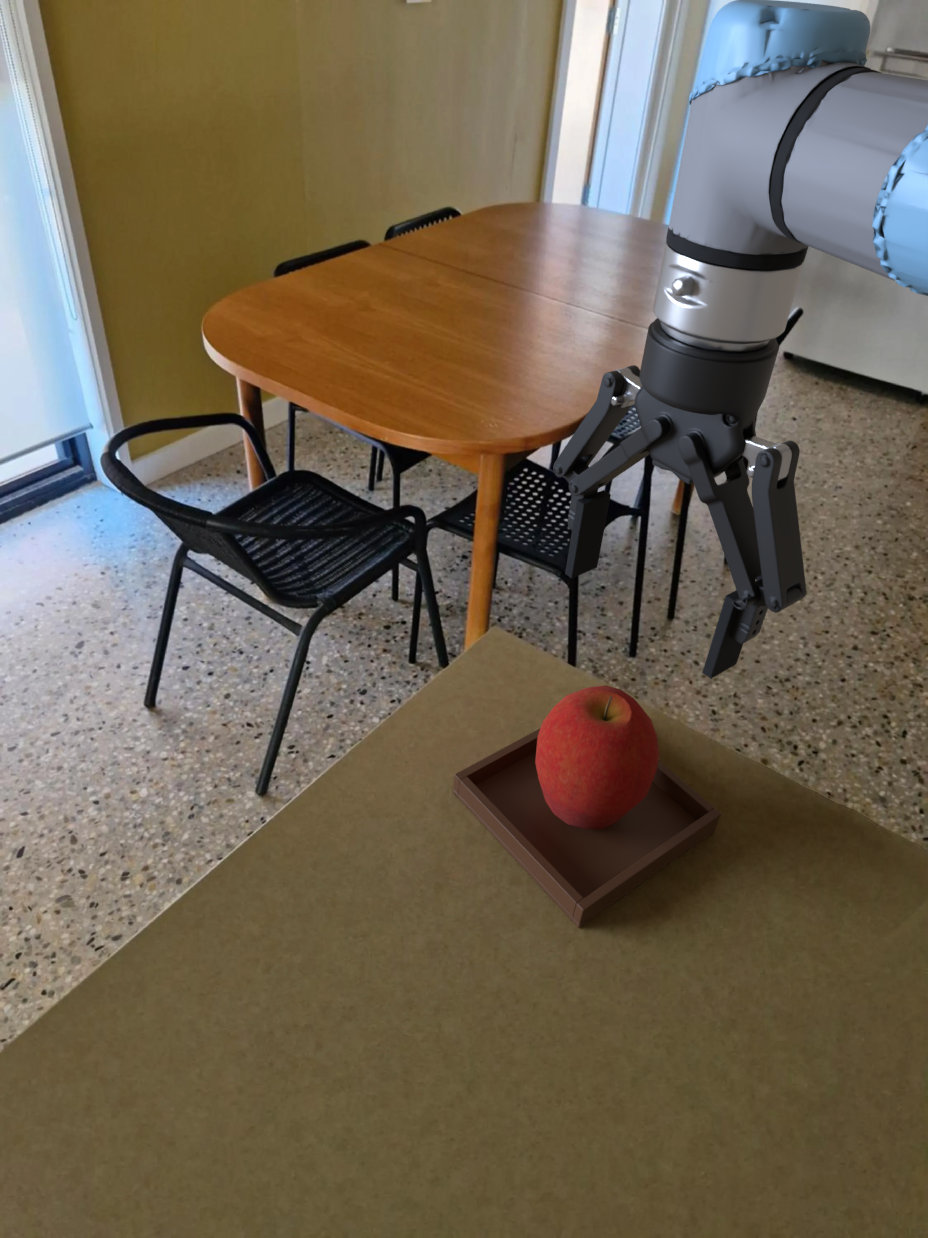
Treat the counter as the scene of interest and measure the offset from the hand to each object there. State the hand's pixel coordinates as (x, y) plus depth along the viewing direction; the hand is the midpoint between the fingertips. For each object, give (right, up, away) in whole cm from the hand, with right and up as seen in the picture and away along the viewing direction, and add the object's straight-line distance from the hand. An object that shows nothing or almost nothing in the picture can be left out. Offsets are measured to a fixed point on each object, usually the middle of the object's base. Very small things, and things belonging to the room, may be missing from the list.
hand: (645, 616), depth 64 cm
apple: (-3, -17, +15) cm, 23 cm away
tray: (-3, -17, +15) cm, 23 cm away
